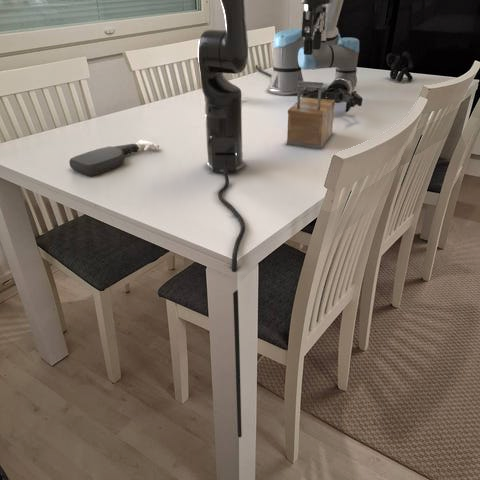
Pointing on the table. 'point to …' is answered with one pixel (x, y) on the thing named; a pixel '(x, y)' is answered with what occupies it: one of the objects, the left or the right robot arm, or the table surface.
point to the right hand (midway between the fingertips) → (325, 105)
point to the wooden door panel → (311, 102)
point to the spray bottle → (106, 157)
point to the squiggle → (399, 66)
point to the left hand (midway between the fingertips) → (312, 51)
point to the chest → (309, 129)
